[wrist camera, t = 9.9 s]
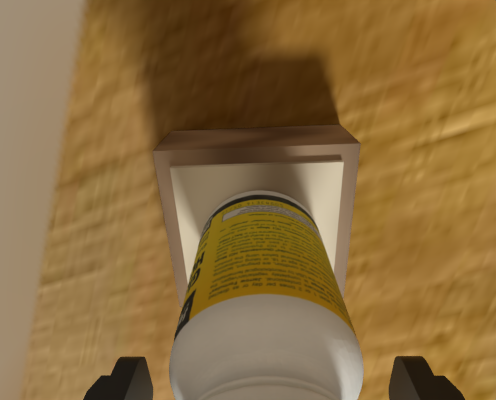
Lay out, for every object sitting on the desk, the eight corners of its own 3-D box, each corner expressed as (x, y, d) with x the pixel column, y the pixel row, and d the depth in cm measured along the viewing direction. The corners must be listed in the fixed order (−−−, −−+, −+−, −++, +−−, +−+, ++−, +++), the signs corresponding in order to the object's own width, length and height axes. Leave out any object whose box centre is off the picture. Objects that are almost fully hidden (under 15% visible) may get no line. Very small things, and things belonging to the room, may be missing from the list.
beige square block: (340, 124, 19) (362, 145, 15) (328, 263, 23) (344, 307, 20) (171, 131, 19) (150, 153, 16) (190, 267, 24) (179, 310, 20)
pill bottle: (190, 195, 16) (94, 427, 6) (312, 177, 16) (413, 399, 6) (215, 290, 19) (175, 559, 9) (321, 277, 19) (401, 547, 9)
